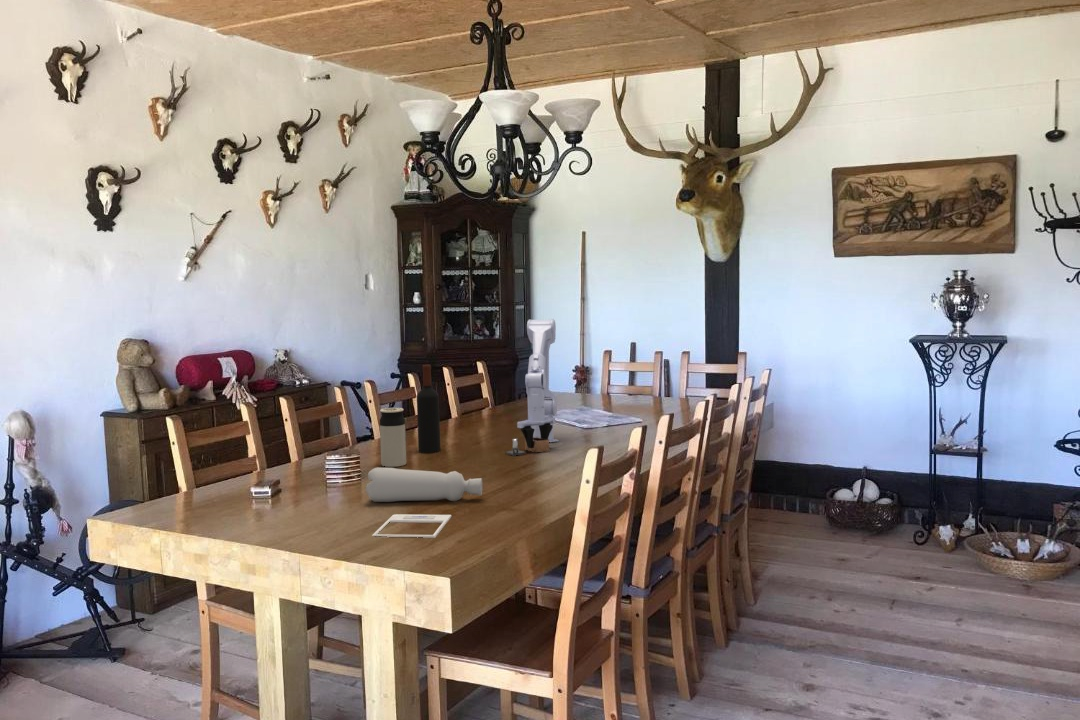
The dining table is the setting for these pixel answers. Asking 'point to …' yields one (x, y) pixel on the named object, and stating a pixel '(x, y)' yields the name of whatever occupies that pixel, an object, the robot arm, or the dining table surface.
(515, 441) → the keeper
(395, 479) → the bottle
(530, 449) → the copper rectangular sleeve
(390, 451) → the travel mug
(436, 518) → the photo frame
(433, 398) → the wine bottle
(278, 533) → the dining table surface
